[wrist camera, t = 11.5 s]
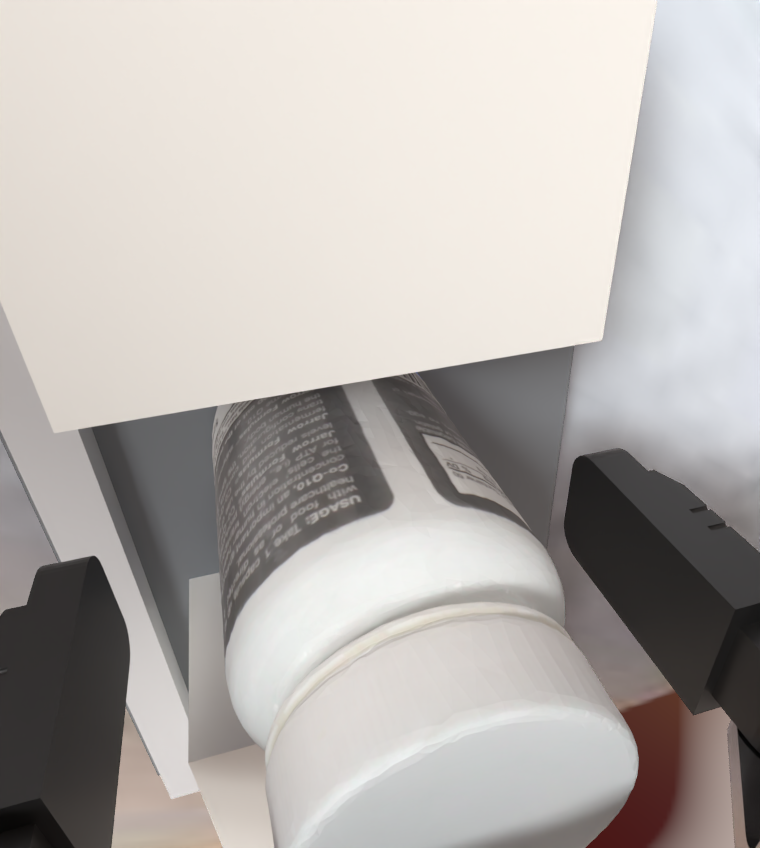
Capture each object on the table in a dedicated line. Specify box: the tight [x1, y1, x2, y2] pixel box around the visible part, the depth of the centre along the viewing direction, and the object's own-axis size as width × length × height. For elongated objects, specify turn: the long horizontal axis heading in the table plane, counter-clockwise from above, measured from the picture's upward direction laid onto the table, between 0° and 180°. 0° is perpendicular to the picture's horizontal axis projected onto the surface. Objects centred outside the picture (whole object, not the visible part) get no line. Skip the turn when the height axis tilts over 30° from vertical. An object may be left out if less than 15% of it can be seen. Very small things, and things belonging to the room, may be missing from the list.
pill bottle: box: [212, 372, 639, 848], centre depth 10 cm, size 5×5×8 cm
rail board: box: [0, 0, 657, 848], centre depth 12 cm, size 22×12×6 cm, turn 3°
